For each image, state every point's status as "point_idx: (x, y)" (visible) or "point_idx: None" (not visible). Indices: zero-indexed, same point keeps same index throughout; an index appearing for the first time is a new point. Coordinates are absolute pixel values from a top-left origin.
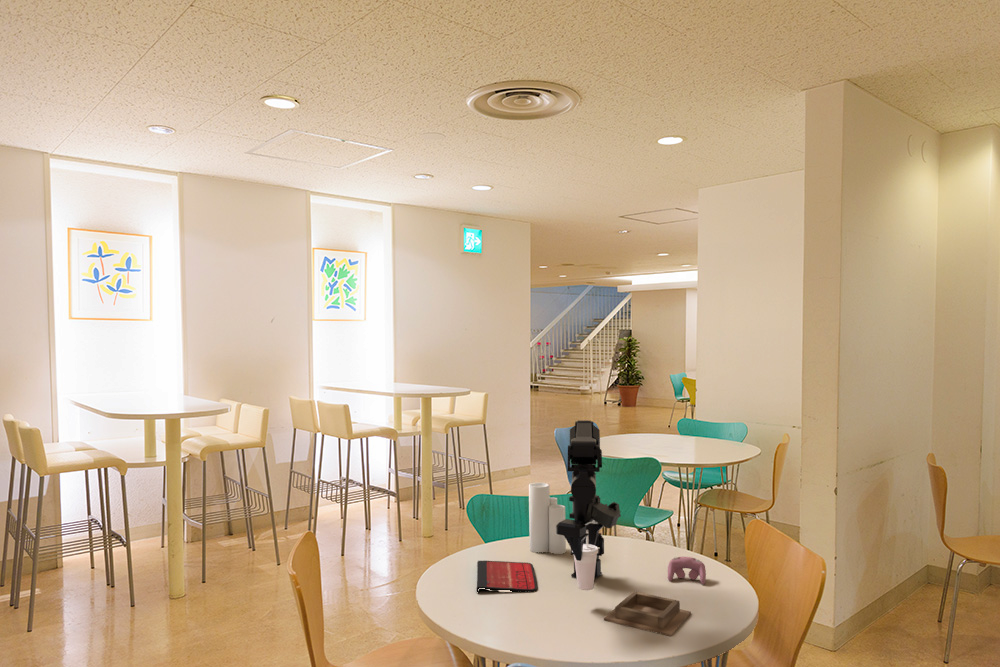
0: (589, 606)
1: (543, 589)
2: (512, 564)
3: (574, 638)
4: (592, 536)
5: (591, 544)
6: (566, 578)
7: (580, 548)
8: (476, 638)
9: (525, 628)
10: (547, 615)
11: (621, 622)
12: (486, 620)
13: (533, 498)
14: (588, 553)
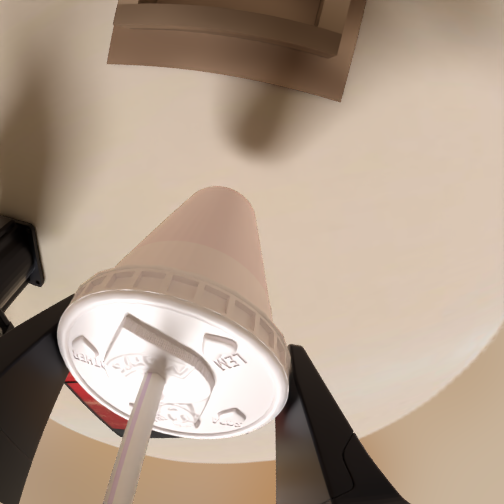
0: (224, 177)
1: None
2: (86, 396)
3: (479, 183)
4: (16, 394)
5: (56, 347)
6: (58, 292)
7: (353, 435)
8: (461, 364)
9: (427, 311)
10: (342, 286)
11: (357, 33)
12: (386, 381)
13: None
14: (276, 344)
